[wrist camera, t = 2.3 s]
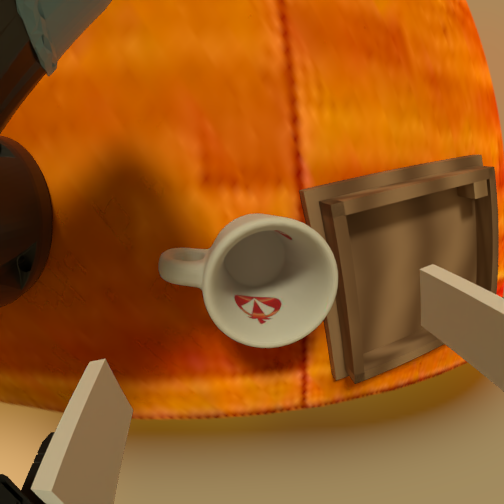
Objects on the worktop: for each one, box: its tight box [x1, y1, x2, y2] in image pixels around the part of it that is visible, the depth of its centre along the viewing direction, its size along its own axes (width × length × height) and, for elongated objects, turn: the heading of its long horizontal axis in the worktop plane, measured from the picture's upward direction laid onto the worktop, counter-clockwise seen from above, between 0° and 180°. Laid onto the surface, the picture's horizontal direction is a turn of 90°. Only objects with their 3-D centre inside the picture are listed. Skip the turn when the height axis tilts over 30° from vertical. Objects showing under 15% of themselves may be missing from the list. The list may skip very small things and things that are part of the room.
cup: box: [159, 214, 338, 348], centre depth 22 cm, size 11×8×8 cm
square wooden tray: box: [299, 155, 498, 384], centre depth 27 cm, size 20×18×4 cm
